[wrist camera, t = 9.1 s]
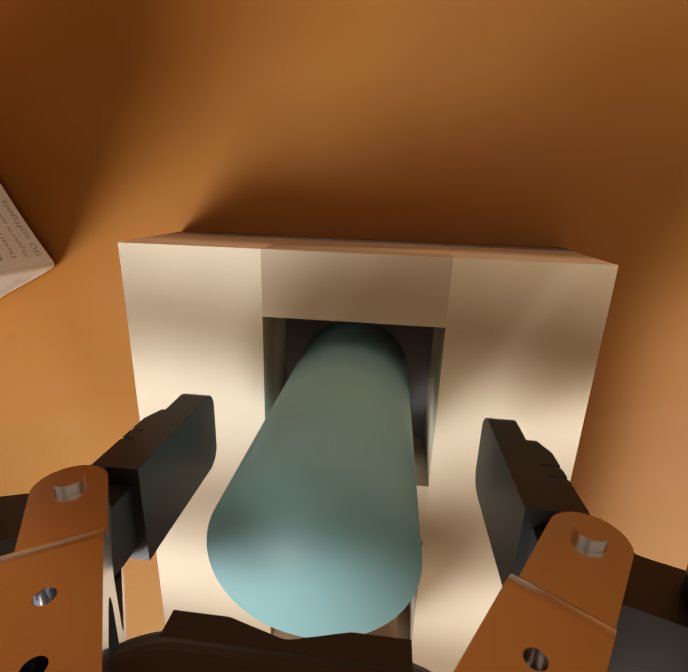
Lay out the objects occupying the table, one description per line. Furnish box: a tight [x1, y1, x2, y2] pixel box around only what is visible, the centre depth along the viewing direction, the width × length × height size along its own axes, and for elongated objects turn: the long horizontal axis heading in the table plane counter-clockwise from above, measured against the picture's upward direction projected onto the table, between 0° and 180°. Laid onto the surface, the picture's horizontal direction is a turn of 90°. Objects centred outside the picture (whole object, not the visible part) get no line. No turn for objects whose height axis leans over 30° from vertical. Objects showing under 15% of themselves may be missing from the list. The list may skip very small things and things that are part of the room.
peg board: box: [118, 232, 619, 672], centre depth 15 cm, size 17×14×8 cm
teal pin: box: [207, 321, 422, 638], centre depth 12 cm, size 4×4×9 cm
